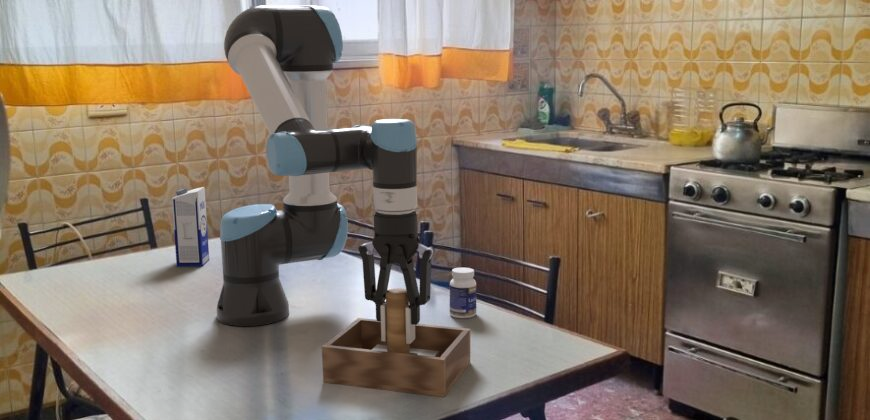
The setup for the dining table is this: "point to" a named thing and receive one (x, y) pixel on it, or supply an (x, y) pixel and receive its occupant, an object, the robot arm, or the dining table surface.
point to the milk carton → (190, 227)
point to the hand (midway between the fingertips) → (398, 339)
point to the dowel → (396, 320)
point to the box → (397, 359)
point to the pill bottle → (463, 293)
